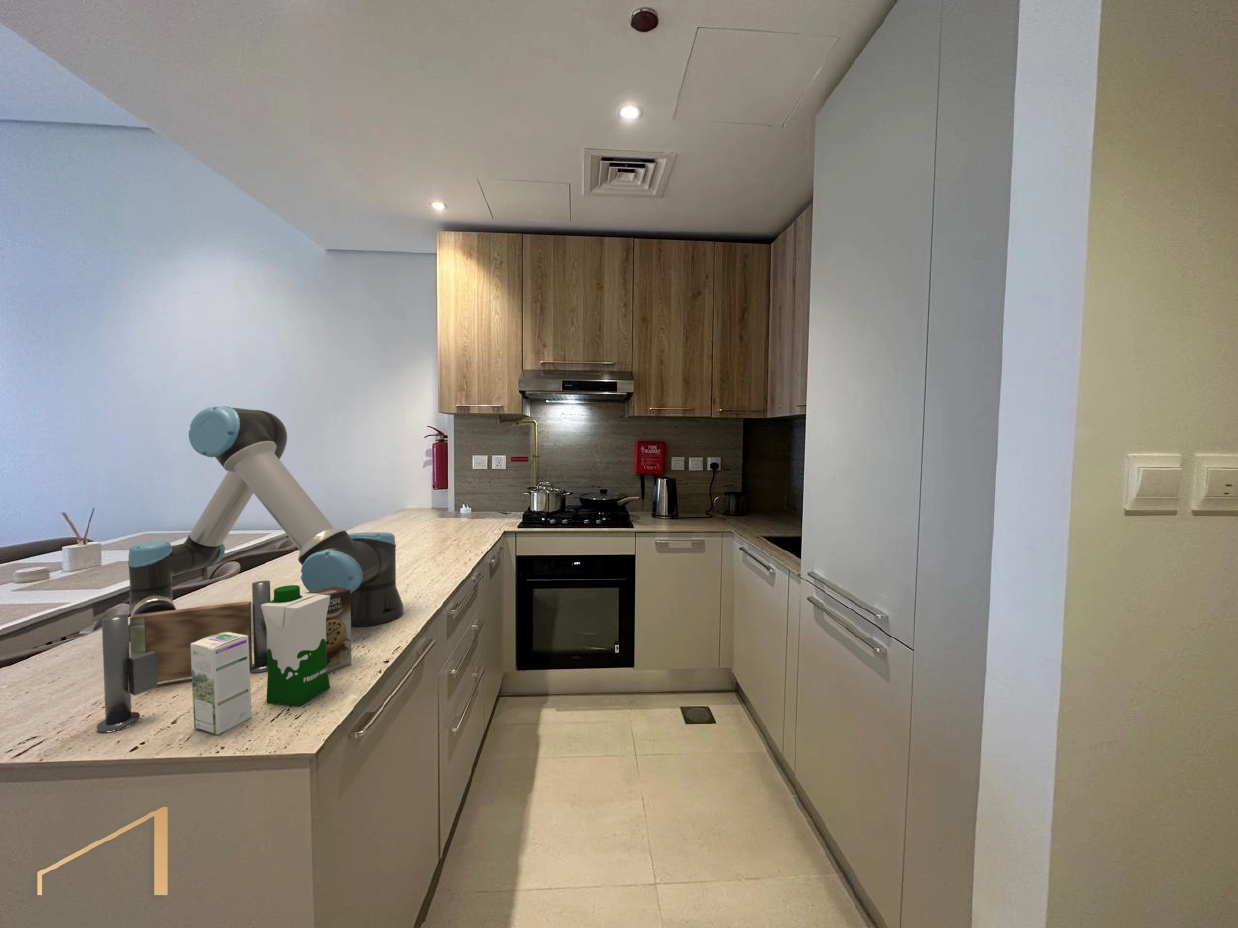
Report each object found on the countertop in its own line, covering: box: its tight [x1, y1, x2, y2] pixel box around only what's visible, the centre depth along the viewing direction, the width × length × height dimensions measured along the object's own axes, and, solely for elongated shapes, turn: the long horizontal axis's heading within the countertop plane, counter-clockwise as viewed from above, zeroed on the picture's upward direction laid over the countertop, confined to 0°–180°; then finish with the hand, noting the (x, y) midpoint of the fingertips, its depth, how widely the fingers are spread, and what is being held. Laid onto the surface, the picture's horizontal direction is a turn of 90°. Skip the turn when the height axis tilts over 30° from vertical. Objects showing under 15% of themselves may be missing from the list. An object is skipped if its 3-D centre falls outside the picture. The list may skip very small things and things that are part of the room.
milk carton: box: [261, 584, 331, 707], centre depth 90 cm, size 9×9×20 cm
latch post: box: [96, 613, 159, 732], centre depth 81 cm, size 6×5×18 cm
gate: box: [129, 600, 253, 683], centre depth 96 cm, size 18×2×13 cm, turn 117°
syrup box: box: [190, 632, 253, 736], centre depth 81 cm, size 6×6×14 cm
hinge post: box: [250, 580, 271, 674], centre depth 101 cm, size 5×5×18 cm
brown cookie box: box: [305, 586, 352, 673], centre depth 101 cm, size 9×6×16 cm
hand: (163, 644), depth 96 cm, fingers closed
